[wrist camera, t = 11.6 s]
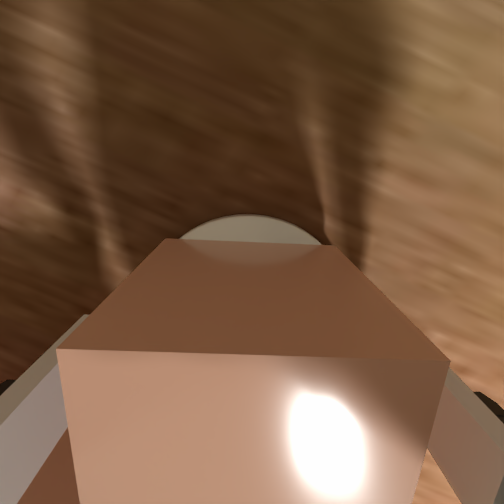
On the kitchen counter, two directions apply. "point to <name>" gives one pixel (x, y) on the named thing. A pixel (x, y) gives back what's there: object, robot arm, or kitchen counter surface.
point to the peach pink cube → (248, 382)
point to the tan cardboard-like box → (54, 478)
